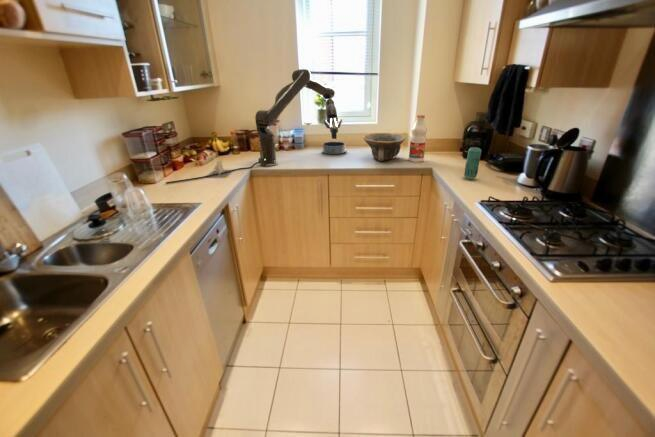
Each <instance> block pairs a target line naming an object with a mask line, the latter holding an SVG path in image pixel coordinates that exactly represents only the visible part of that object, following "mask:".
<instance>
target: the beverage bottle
mask: <svg viewBox="0 0 655 437" xmlns="http://www.w3.org/2000/svg"><path fill="white" fill-rule="evenodd" d="M481 143H482V142H481V141H480V140H473V141H472V142H471V146H472V147H469V149H468V151H467V156H466V161H465V167H464V171H463V176H464V177H465V178H469V179H475V178H477V176H478V172H479V165H480V161H481V156H482V152H483V151H482V149H481V148H480V147H481Z"/></svg>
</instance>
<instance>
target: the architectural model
mask: <svg viewBox="0 0 655 437" xmlns="http://www.w3.org/2000/svg"><path fill="white" fill-rule="evenodd" d="M213 170H214V171H212V172H211V173H210V174H209V175H213V174H219V175H215V176H210V177H209V178H227V176H228V175H229V174H231V173H232V172H233V171H231V172H227V173H223V174H220V173H222V172H226V171H230V170H231V169H224V166H223V161H222V159H220V160H217V161H216V164H215V166H214V167H213Z"/></svg>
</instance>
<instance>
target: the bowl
mask: <svg viewBox="0 0 655 437" xmlns="http://www.w3.org/2000/svg"><path fill="white" fill-rule="evenodd" d="M363 140H364V142H365V143H366V144H367V145H368V147H370V149H371V155H372V156H373V159H375V160H378V161H379V162H384V161H390V160H393V159H394V157H395V158H396V157H397V156H398V155H399V153H400V151H401V145H402V144H403V143H404V141H405V140H406V137H405V136H404V135H402V134H399V133H391V132H390V133H389V132H376V133H375V132H374V133H369V134H365V135H364V136H363Z"/></svg>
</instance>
